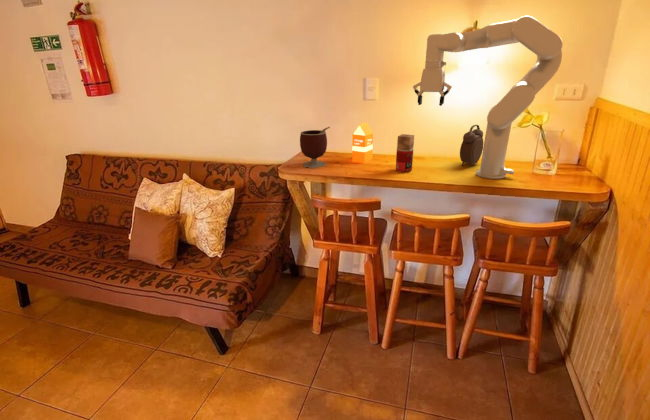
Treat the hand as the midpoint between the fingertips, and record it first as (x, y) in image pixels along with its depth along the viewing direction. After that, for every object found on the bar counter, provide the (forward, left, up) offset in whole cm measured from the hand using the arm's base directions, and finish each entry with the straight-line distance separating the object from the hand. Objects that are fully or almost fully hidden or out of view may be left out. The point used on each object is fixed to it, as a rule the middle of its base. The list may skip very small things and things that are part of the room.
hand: (430, 105), depth 163 cm
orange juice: (+34, 0, -31) cm, 46 cm away
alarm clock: (-18, -16, -31) cm, 39 cm away
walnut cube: (+8, +8, -19) cm, 22 cm away
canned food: (+8, +8, -31) cm, 33 cm away
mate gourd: (+52, +19, -31) cm, 63 cm away
